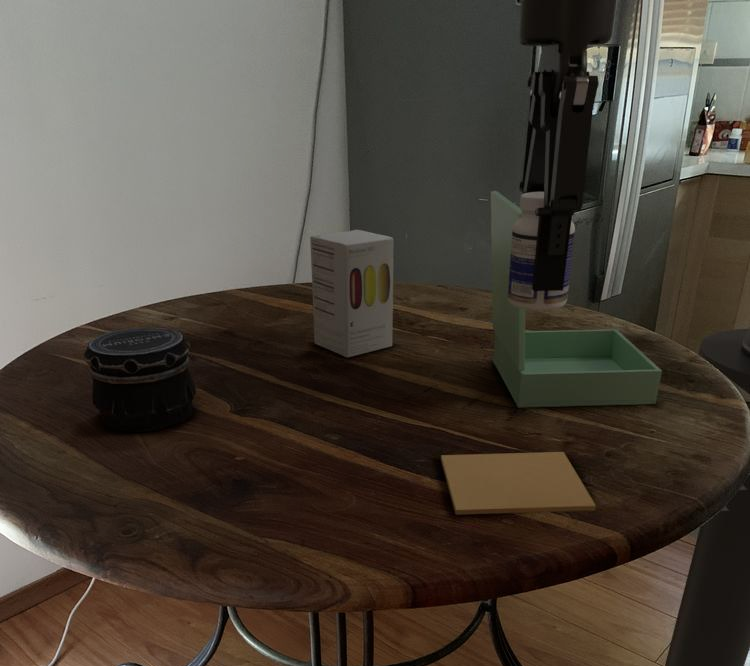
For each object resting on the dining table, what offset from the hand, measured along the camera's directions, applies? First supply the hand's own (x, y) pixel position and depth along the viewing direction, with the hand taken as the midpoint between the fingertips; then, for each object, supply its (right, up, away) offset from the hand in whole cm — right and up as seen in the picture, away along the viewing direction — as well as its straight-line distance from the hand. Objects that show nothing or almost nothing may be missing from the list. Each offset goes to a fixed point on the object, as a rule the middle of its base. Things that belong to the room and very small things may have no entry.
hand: (539, 280), depth 70 cm
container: (-45, -10, +24) cm, 52 cm away
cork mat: (-1, -19, +8) cm, 21 cm away
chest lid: (+2, +8, +26) cm, 27 cm away
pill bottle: (0, -2, +1) cm, 2 cm away
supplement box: (-19, +4, +48) cm, 52 cm away
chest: (+12, -4, +33) cm, 36 cm away
